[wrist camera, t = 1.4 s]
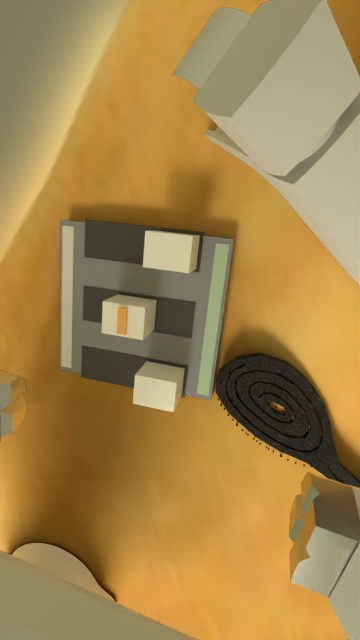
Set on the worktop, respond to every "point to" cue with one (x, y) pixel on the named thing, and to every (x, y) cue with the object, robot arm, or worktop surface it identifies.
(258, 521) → the worktop surface
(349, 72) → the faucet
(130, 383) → the panel
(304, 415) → the hairbrush
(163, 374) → the block
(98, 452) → the worktop surface
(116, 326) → the breaker
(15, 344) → the worktop surface
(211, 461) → the worktop surface
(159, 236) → the block
